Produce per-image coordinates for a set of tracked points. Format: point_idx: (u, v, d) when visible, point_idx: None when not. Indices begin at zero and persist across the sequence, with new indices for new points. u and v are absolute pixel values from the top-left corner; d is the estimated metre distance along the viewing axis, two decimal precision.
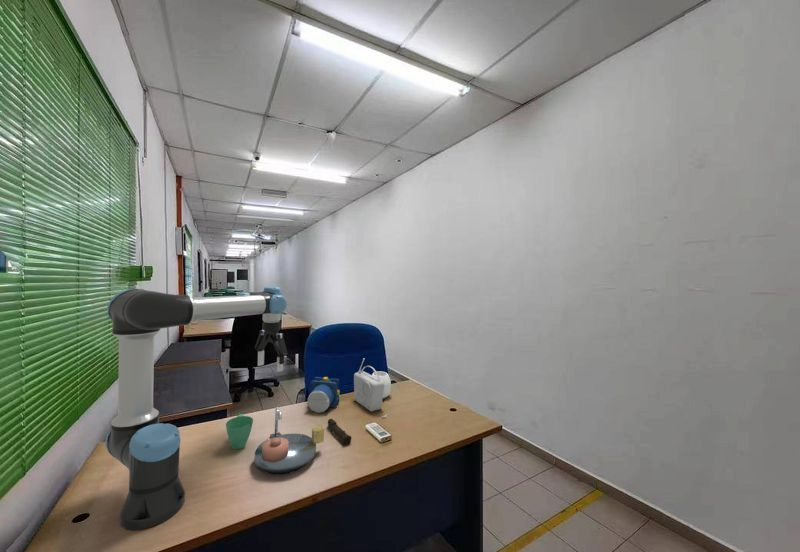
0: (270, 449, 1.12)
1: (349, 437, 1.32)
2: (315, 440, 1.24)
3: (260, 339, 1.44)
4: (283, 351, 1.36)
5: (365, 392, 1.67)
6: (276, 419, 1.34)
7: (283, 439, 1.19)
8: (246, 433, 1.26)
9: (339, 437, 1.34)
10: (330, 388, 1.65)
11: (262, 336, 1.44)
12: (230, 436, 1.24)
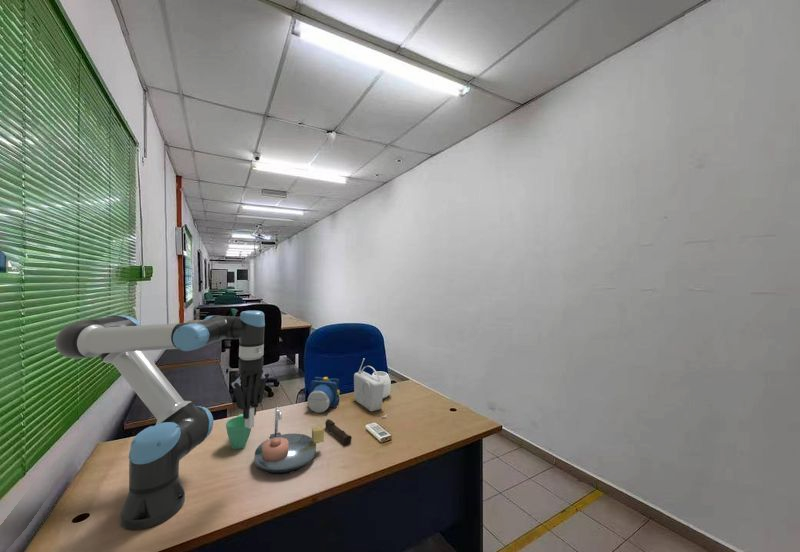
0: (270, 449, 1.12)
1: (349, 437, 1.32)
2: (315, 440, 1.24)
3: (259, 385, 1.09)
4: (237, 404, 1.03)
5: (365, 392, 1.67)
6: (276, 419, 1.34)
7: (283, 439, 1.19)
8: (246, 433, 1.26)
9: (339, 437, 1.34)
10: (330, 388, 1.65)
11: (261, 380, 1.09)
12: (230, 436, 1.24)
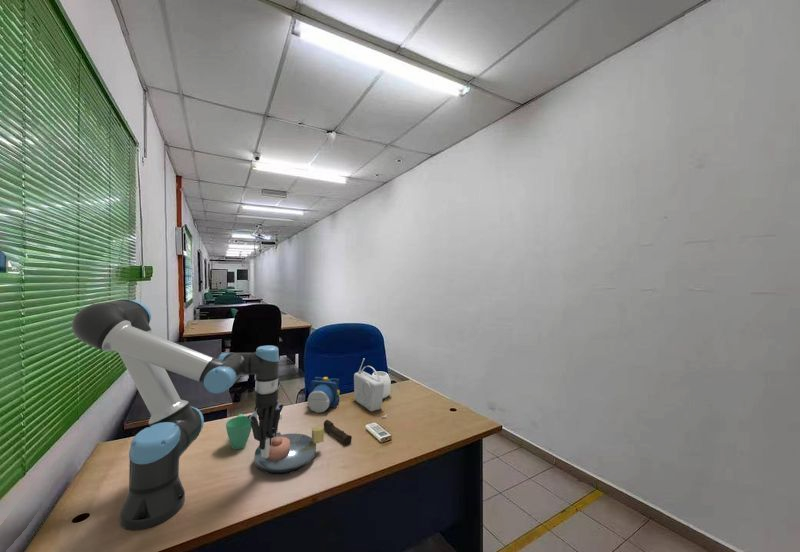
0: (272, 448, 1.13)
1: (350, 437, 1.32)
2: (315, 440, 1.24)
3: (273, 416, 1.15)
4: (254, 435, 1.08)
5: (365, 392, 1.67)
6: None
7: (284, 438, 1.19)
8: (246, 433, 1.26)
9: (339, 437, 1.34)
10: (330, 388, 1.65)
11: (275, 411, 1.15)
12: (230, 436, 1.24)
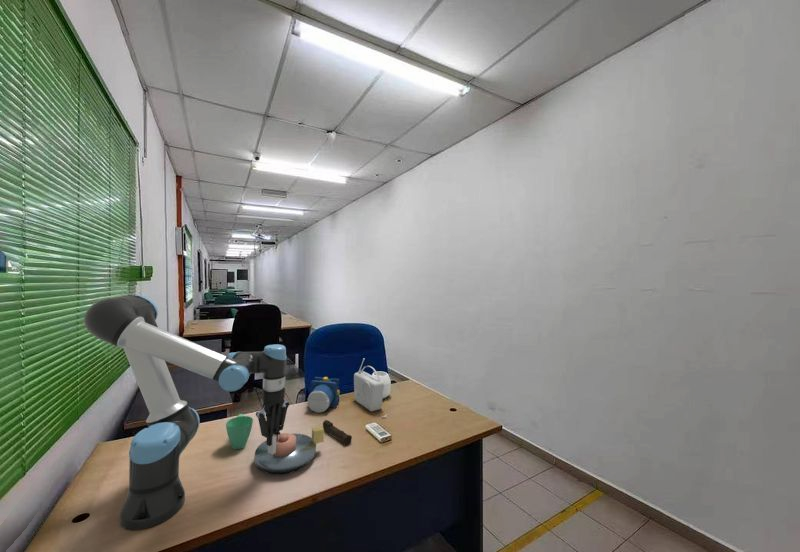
0: (278, 444, 1.15)
1: (350, 437, 1.32)
2: (315, 440, 1.24)
3: None
4: (262, 432, 1.11)
5: (365, 392, 1.67)
6: None
7: (291, 435, 1.22)
8: (246, 433, 1.26)
9: (339, 437, 1.34)
10: (330, 388, 1.65)
11: (282, 409, 1.18)
12: (230, 436, 1.24)
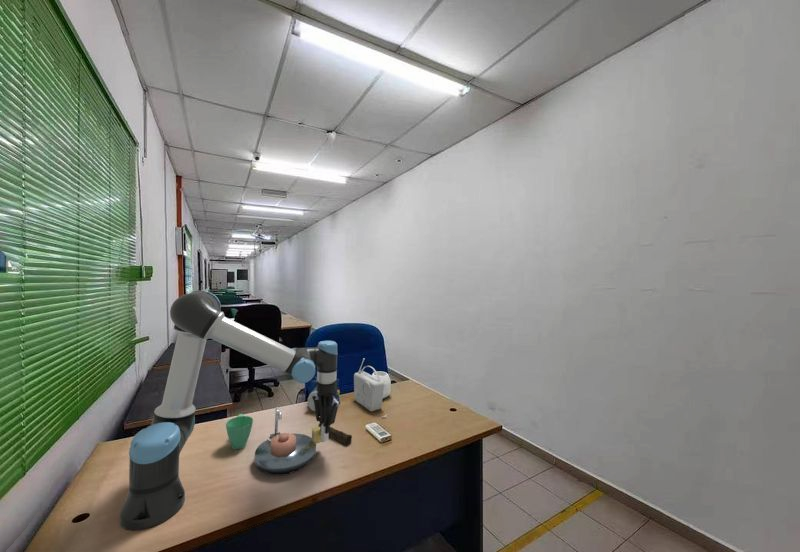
0: (278, 444, 1.15)
1: (350, 436, 1.33)
2: (315, 440, 1.24)
3: (317, 406, 1.25)
4: (331, 421, 1.21)
5: (365, 392, 1.67)
6: (276, 419, 1.34)
7: (291, 435, 1.22)
8: (246, 433, 1.26)
9: (338, 438, 1.33)
10: None
11: (318, 401, 1.26)
12: (230, 436, 1.24)
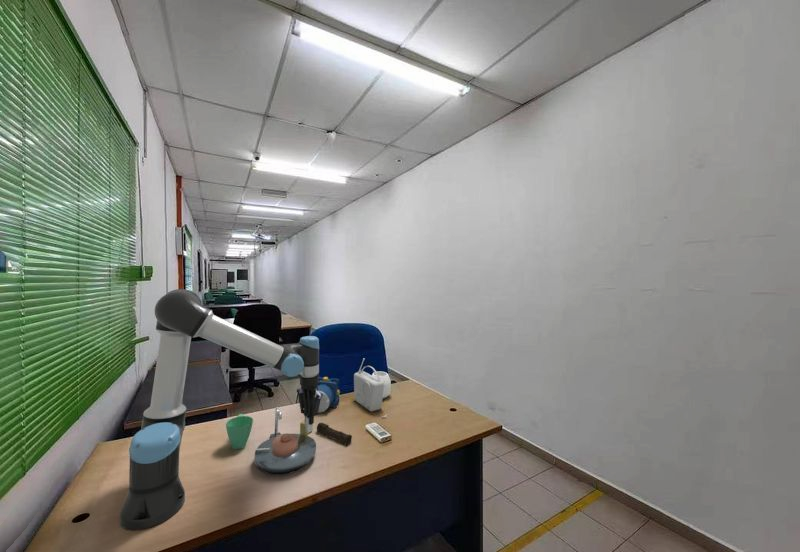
0: (287, 444, 1.16)
1: (350, 436, 1.33)
2: None
3: (302, 399, 1.30)
4: (314, 412, 1.26)
5: (365, 392, 1.67)
6: (276, 419, 1.34)
7: None
8: (246, 433, 1.26)
9: (338, 438, 1.33)
10: (330, 388, 1.65)
11: (302, 394, 1.31)
12: (230, 436, 1.24)
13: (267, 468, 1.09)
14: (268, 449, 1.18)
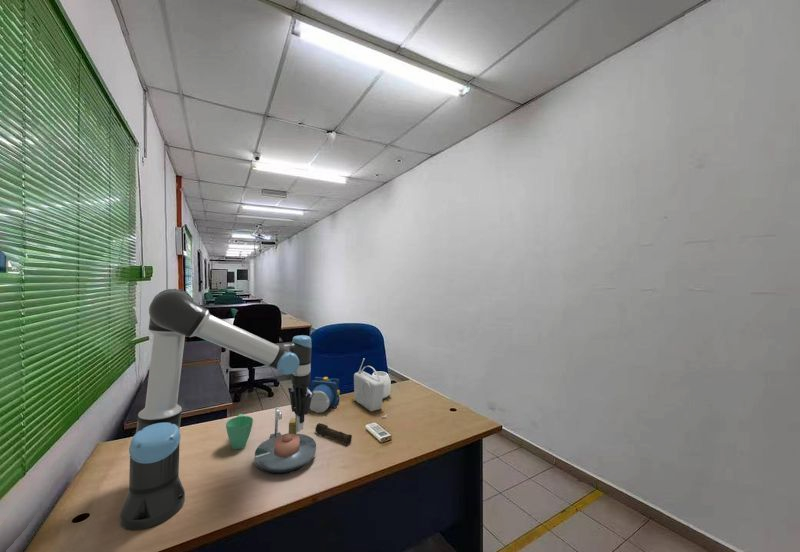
0: (293, 442, 1.17)
1: (350, 436, 1.33)
2: None
3: (293, 397, 1.32)
4: (305, 411, 1.28)
5: (365, 392, 1.67)
6: (276, 419, 1.34)
7: None
8: (246, 433, 1.26)
9: (338, 438, 1.33)
10: (330, 388, 1.65)
11: (293, 393, 1.33)
12: (230, 436, 1.24)
13: (282, 469, 1.09)
14: (269, 453, 1.16)
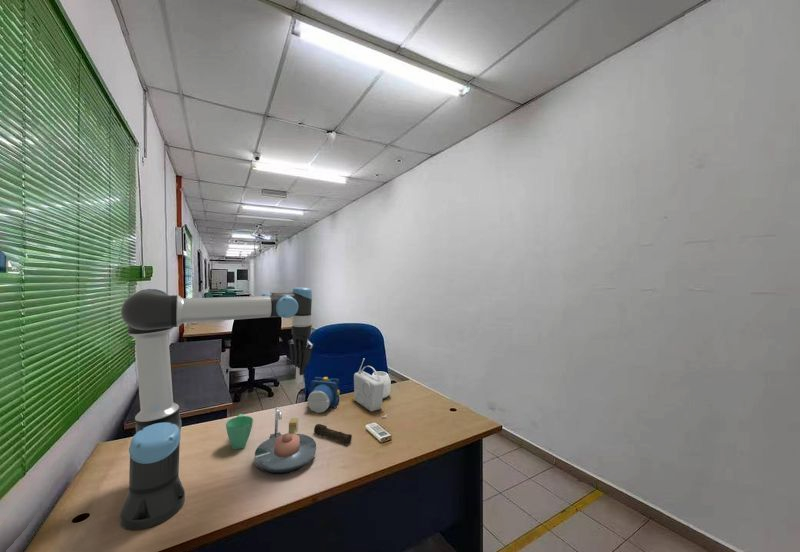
0: (293, 442, 1.17)
1: (350, 436, 1.33)
2: (296, 430, 1.31)
3: (293, 350, 1.30)
4: (305, 362, 1.27)
5: (365, 392, 1.67)
6: (276, 419, 1.34)
7: None
8: (246, 433, 1.26)
9: (338, 438, 1.33)
10: (330, 388, 1.65)
11: (293, 346, 1.31)
12: (230, 436, 1.24)
13: (282, 469, 1.09)
14: (269, 453, 1.16)
